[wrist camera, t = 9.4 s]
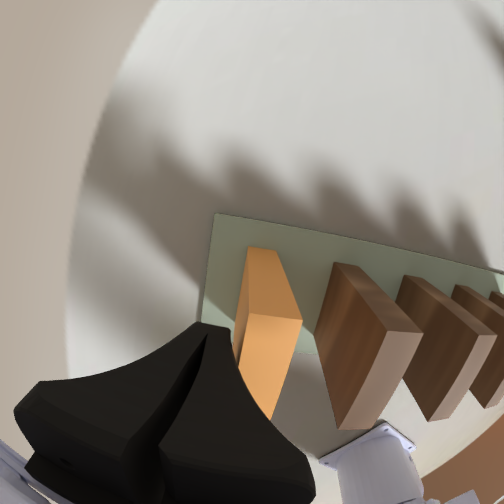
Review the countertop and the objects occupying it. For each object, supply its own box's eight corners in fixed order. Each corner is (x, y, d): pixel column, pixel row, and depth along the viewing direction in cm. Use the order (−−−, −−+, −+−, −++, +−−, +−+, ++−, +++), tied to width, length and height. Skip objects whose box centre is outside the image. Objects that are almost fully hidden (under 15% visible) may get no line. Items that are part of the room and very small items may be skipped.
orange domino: (276, 250, 16) (302, 319, 8) (260, 326, 17) (268, 425, 9) (248, 246, 15) (249, 312, 8) (234, 323, 17) (227, 421, 9)
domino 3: (468, 286, 15) (536, 334, 8) (444, 344, 17) (497, 404, 9) (455, 284, 15) (526, 334, 8) (431, 344, 17) (484, 408, 9)
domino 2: (422, 277, 15) (497, 335, 8) (397, 342, 17) (448, 418, 9) (403, 274, 16) (479, 335, 8) (379, 341, 17) (427, 422, 9)
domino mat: (543, 286, 15) (545, 287, 15) (516, 351, 17) (518, 353, 17) (215, 212, 16) (214, 213, 15) (200, 332, 18) (199, 336, 17)
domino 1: (358, 265, 16) (423, 333, 8) (336, 337, 17) (371, 428, 9) (333, 261, 16) (387, 330, 8) (313, 335, 17) (337, 430, 9)
